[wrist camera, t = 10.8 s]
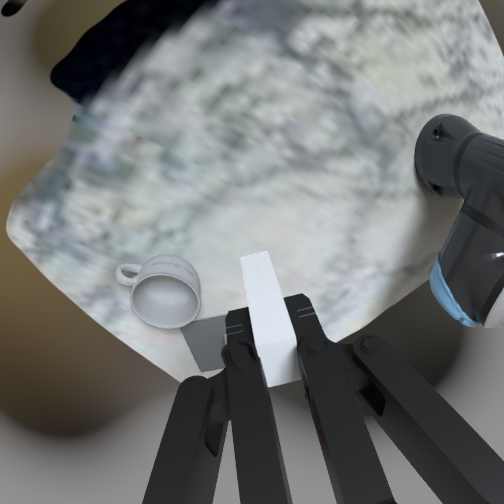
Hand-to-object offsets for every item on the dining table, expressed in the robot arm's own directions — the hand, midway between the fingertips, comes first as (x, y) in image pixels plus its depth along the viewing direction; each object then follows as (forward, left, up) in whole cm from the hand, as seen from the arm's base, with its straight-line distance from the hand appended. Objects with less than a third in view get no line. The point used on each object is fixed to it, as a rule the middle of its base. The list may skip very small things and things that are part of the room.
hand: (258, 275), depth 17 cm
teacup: (+15, +15, -31) cm, 37 cm away
